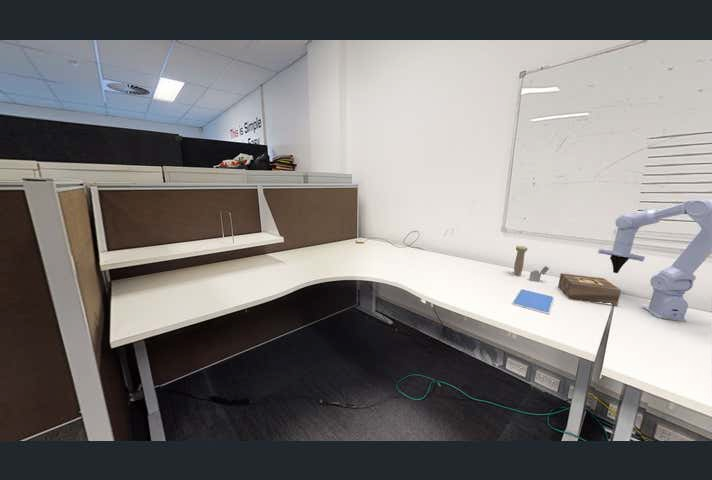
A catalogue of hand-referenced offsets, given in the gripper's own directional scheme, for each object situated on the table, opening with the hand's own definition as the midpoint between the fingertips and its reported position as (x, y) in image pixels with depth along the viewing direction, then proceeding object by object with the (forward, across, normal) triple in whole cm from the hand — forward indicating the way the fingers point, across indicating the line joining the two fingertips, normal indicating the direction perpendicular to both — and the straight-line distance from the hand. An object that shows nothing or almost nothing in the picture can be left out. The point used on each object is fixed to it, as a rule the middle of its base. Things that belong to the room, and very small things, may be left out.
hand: (615, 272), depth 118 cm
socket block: (+9, -5, -16) cm, 19 cm away
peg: (+9, -5, -16) cm, 18 cm away
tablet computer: (+10, -14, -42) cm, 46 cm away
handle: (+10, -34, -15) cm, 38 cm away
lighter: (+10, -24, -15) cm, 30 cm away
